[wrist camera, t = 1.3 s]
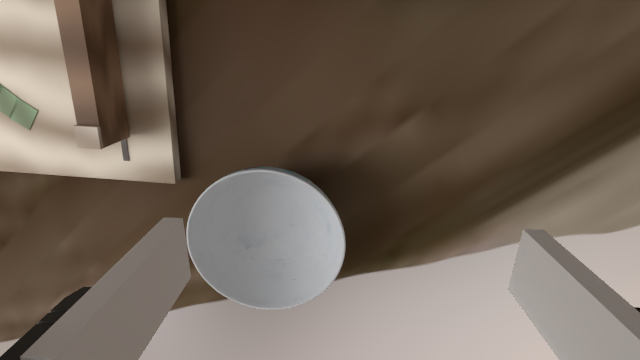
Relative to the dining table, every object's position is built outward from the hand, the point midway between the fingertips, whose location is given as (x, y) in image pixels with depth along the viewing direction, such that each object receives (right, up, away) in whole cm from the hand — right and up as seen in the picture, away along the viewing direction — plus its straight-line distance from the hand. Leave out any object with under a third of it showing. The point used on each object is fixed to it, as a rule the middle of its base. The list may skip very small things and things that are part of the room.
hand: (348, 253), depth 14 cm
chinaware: (-6, 0, +26) cm, 27 cm away
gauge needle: (-21, +16, +18) cm, 32 cm away
